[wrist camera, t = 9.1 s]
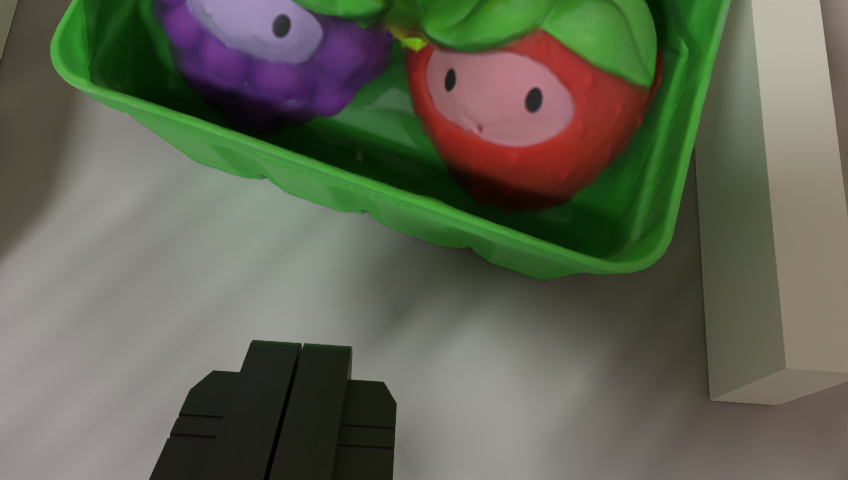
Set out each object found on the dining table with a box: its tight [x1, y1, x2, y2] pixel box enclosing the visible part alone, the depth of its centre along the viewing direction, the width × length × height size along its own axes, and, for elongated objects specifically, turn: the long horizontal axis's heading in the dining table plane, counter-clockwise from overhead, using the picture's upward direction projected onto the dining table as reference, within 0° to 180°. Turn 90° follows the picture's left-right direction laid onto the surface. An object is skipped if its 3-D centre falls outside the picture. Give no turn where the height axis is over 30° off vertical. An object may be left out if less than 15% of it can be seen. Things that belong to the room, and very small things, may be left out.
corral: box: [0, 0, 848, 405], centre depth 19 cm, size 16×20×4 cm
